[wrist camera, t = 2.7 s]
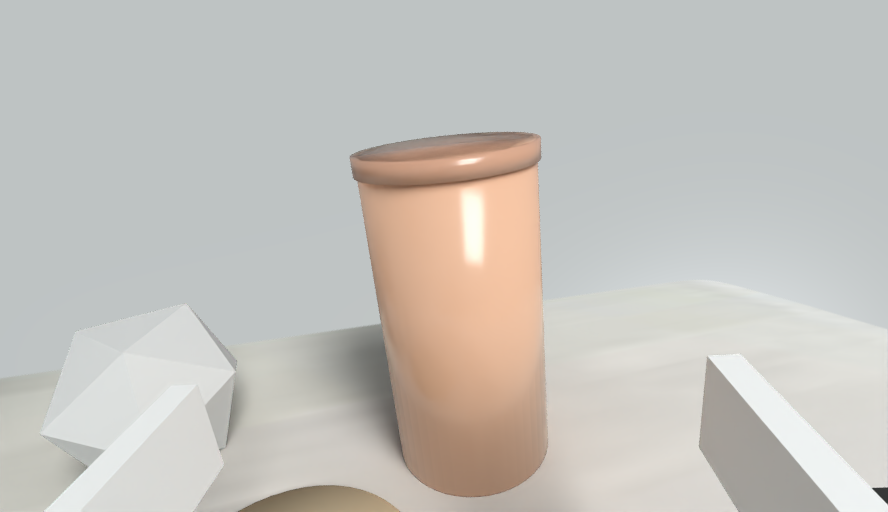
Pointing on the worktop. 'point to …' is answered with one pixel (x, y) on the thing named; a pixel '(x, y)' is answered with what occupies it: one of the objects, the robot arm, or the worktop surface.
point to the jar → (461, 303)
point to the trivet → (322, 501)
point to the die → (136, 378)
